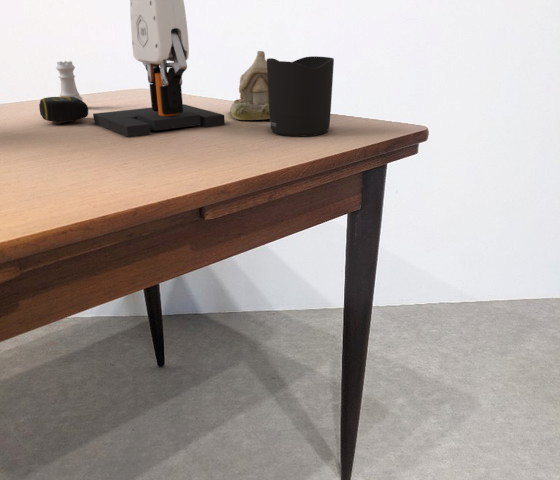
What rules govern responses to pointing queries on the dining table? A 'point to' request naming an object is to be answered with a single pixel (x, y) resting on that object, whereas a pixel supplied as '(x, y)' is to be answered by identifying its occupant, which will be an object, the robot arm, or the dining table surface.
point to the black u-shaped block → (130, 126)
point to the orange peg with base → (168, 115)
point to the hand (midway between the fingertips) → (167, 110)
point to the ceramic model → (253, 92)
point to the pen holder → (300, 95)
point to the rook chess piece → (67, 80)
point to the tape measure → (62, 109)
